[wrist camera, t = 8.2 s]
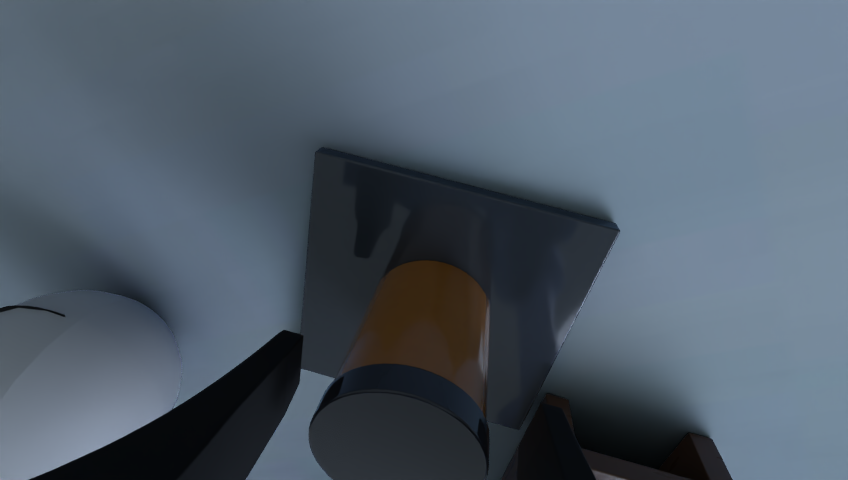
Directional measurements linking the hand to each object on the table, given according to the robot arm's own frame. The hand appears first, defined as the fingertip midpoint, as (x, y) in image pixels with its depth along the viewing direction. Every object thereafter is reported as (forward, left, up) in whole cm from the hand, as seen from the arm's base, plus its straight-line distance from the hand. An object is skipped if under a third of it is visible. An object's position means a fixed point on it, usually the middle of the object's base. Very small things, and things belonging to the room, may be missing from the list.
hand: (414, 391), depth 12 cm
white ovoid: (-6, +14, -5) cm, 16 cm away
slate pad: (0, 0, -4) cm, 4 cm away
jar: (0, 0, -4) cm, 4 cm away
